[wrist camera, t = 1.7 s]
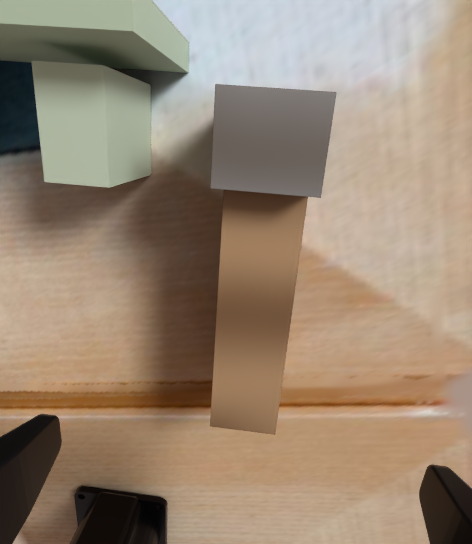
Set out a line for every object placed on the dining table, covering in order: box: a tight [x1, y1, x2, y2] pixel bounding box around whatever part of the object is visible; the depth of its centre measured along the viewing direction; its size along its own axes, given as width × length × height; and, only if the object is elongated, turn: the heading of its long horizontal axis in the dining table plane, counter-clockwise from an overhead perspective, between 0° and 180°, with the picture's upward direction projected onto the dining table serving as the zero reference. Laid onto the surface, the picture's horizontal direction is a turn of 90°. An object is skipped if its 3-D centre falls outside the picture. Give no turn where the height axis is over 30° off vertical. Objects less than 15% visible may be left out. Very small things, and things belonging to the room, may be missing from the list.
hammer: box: [210, 84, 336, 435], centre depth 16 cm, size 14×4×6 cm, turn 176°
